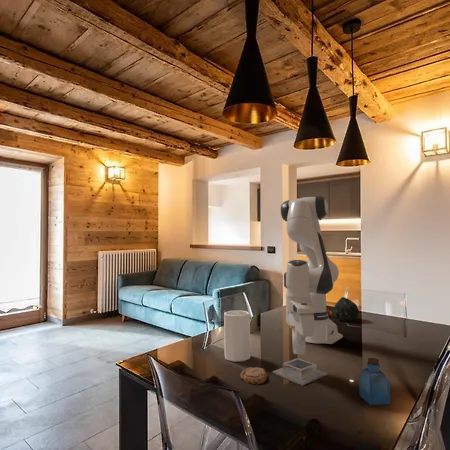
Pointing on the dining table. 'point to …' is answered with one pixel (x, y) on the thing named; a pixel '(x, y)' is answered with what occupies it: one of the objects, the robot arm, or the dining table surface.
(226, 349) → the cup
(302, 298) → the robot arm
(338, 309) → the squash
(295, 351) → the white lidded jar
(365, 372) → the perfume bottle
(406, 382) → the dining table surface
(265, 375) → the cookie
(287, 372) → the duct collar
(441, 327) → the dining table surface
